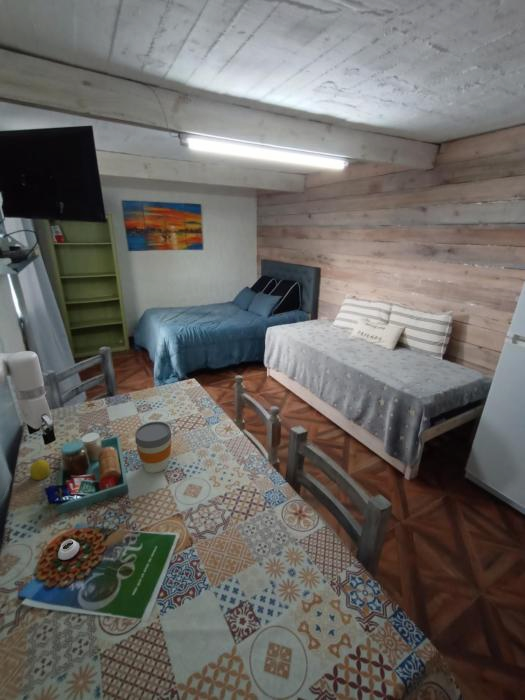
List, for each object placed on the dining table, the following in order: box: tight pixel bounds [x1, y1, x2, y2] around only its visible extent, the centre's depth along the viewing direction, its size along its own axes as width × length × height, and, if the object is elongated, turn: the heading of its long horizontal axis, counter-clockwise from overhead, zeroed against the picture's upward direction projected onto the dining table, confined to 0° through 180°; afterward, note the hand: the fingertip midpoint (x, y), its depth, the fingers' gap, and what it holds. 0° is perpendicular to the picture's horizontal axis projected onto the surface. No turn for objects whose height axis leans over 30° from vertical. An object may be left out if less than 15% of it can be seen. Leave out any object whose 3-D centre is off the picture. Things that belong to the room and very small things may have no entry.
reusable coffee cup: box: [134, 421, 173, 474], centre depth 117 cm, size 13×13×15 cm
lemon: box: [29, 459, 51, 481], centre depth 109 cm, size 6×6×8 cm
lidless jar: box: [57, 538, 81, 561], centre depth 86 cm, size 5×3×5 cm
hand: (42, 437), depth 103 cm, fingers open, 9 cm apart
